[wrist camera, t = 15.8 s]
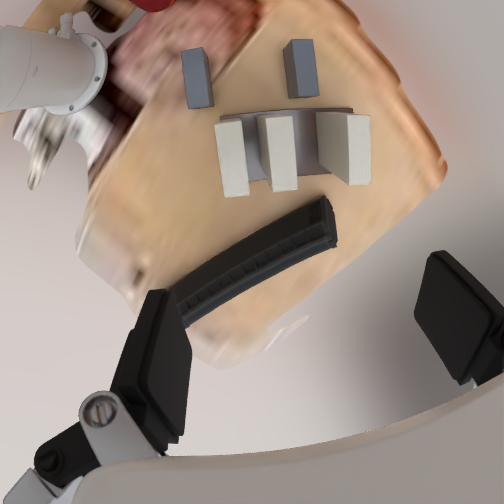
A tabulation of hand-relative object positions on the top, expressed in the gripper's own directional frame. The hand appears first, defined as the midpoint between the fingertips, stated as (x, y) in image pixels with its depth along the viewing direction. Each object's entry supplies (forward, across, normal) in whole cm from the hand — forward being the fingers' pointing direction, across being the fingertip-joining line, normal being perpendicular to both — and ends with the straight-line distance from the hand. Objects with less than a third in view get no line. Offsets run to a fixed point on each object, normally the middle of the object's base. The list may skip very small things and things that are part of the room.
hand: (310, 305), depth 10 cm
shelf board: (+30, -5, -2) cm, 31 cm away
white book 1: (+29, +2, -2) cm, 29 cm away
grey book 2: (+30, -6, -11) cm, 33 cm away
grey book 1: (+30, +6, -11) cm, 33 cm away
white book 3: (+29, -10, -2) cm, 31 cm away
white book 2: (+29, -2, -2) cm, 29 cm away
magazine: (+31, +4, +14) cm, 34 cm away
